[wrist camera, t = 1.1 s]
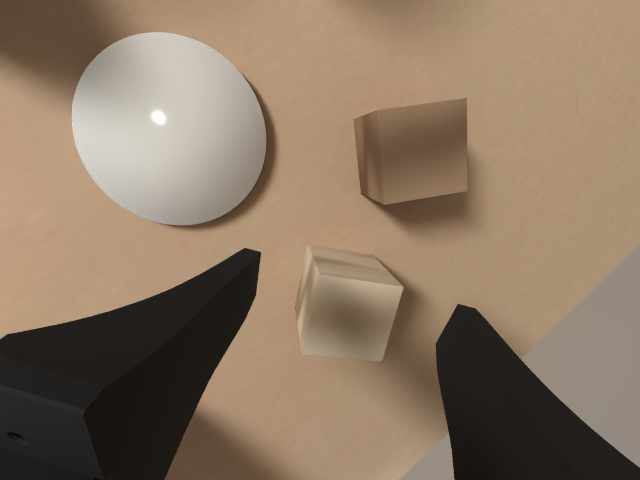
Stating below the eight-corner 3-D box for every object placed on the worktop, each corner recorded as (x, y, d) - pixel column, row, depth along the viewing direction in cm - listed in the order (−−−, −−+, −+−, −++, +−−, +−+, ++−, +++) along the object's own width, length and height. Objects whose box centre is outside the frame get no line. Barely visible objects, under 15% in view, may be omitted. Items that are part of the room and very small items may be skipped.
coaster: (252, 235, 22) (251, 238, 21) (77, 206, 20) (69, 208, 19) (280, 65, 20) (280, 62, 19) (82, 12, 18) (74, 6, 17)
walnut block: (427, 182, 23) (467, 190, 18) (360, 193, 23) (384, 204, 18) (424, 109, 22) (466, 98, 17) (353, 119, 21) (376, 110, 17)
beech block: (356, 314, 25) (382, 361, 19) (294, 306, 24) (302, 354, 19) (372, 254, 24) (403, 286, 18) (308, 243, 23) (319, 274, 17)
